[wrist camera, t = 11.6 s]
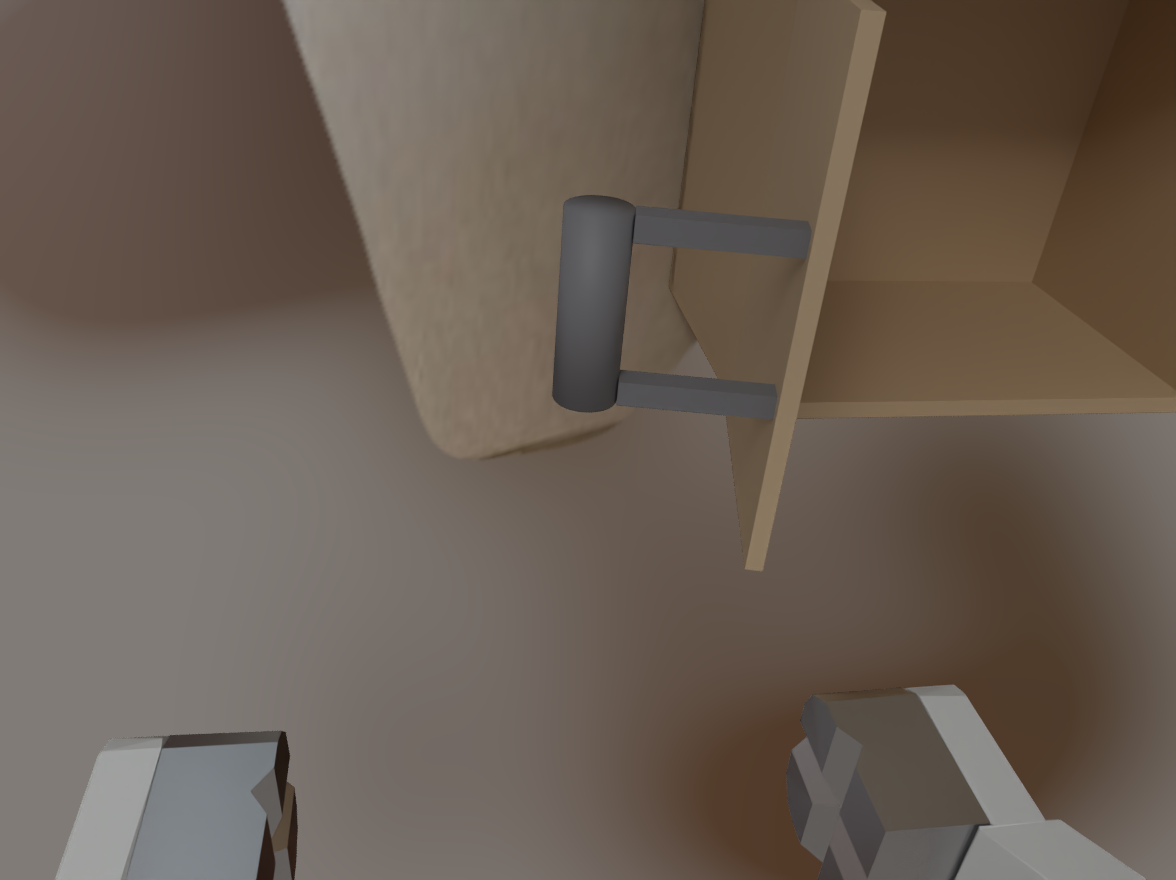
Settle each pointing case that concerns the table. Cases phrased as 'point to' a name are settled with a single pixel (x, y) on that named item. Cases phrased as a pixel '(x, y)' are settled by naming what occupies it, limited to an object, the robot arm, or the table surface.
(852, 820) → the robot arm
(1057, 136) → the carton
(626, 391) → the flap
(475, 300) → the table surface
